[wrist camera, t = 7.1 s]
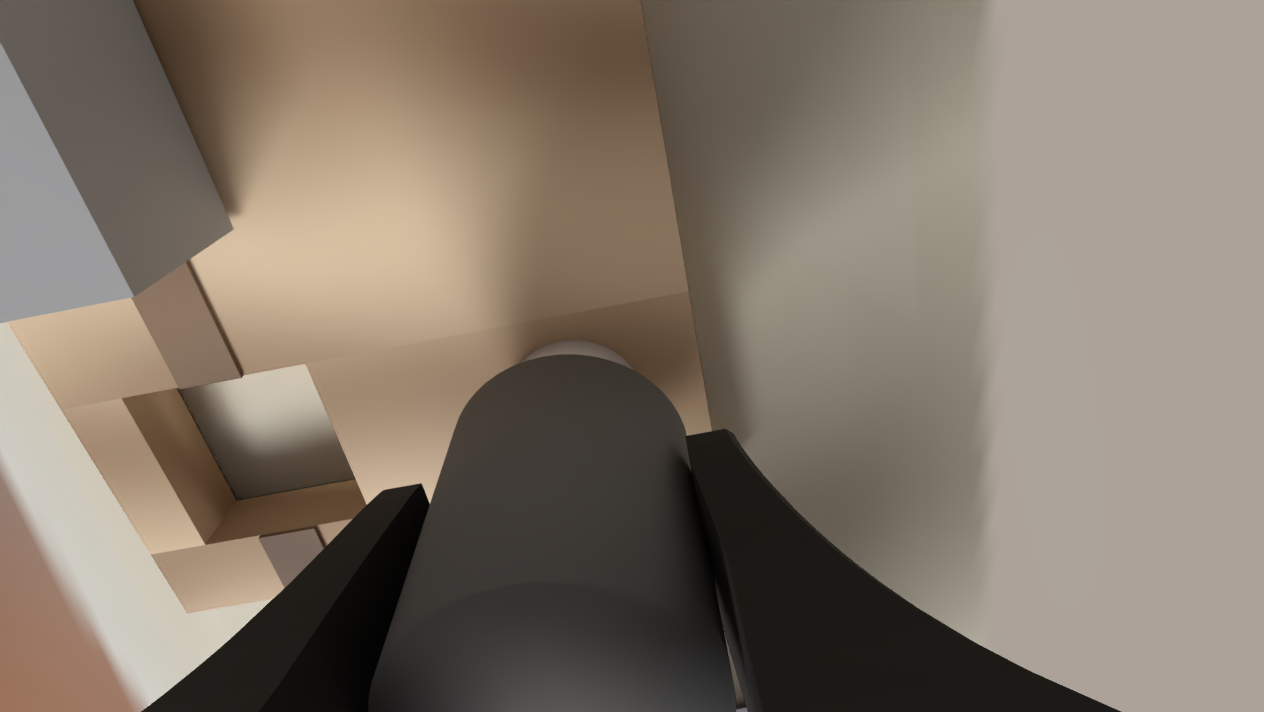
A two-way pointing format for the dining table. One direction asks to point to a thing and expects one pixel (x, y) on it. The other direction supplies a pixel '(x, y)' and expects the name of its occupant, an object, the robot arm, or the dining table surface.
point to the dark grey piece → (560, 555)
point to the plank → (377, 253)
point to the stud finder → (92, 160)
